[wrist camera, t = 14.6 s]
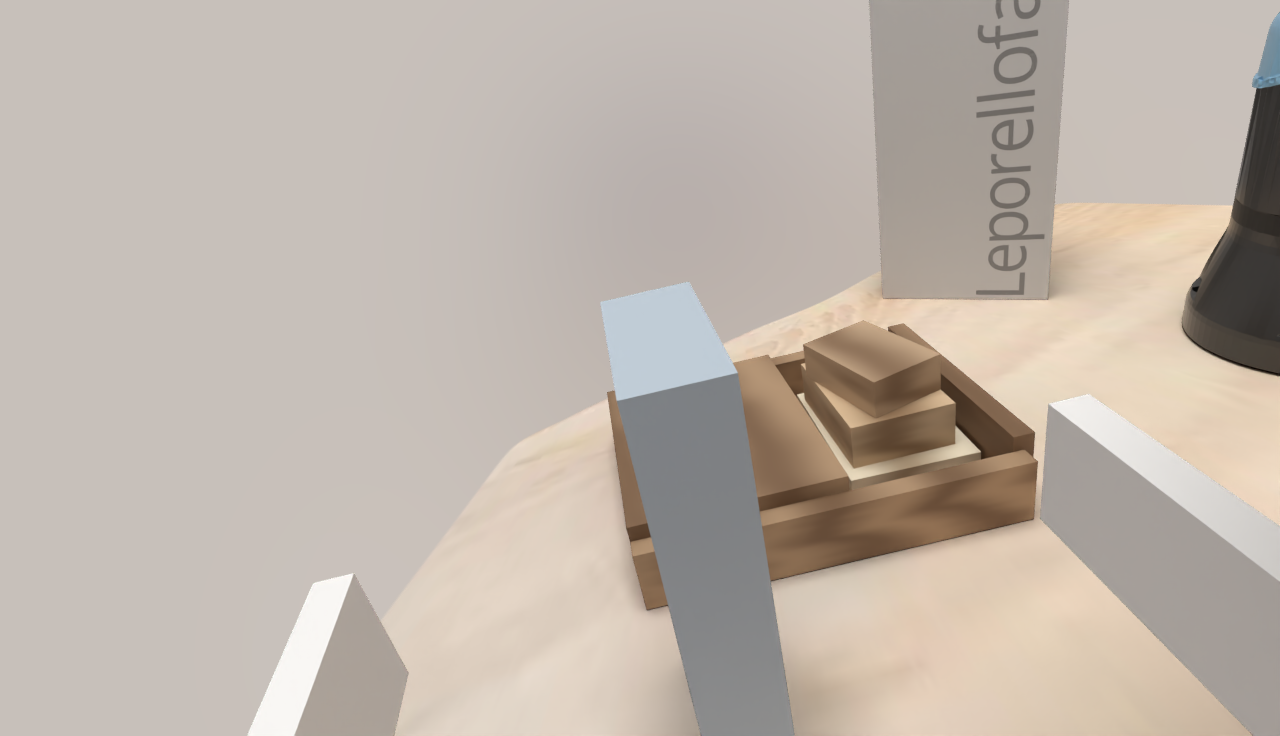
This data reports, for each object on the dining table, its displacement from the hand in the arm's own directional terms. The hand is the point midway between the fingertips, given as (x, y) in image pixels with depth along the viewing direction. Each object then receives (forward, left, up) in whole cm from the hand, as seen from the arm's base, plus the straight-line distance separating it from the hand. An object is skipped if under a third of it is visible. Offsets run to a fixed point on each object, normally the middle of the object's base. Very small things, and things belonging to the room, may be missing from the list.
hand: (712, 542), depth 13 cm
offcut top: (-14, -28, -15) cm, 35 cm away
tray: (-8, -28, -20) cm, 36 cm away
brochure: (-32, -50, -21) cm, 63 cm away
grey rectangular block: (0, -11, -20) cm, 23 cm away
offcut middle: (-14, -28, -18) cm, 37 cm away
